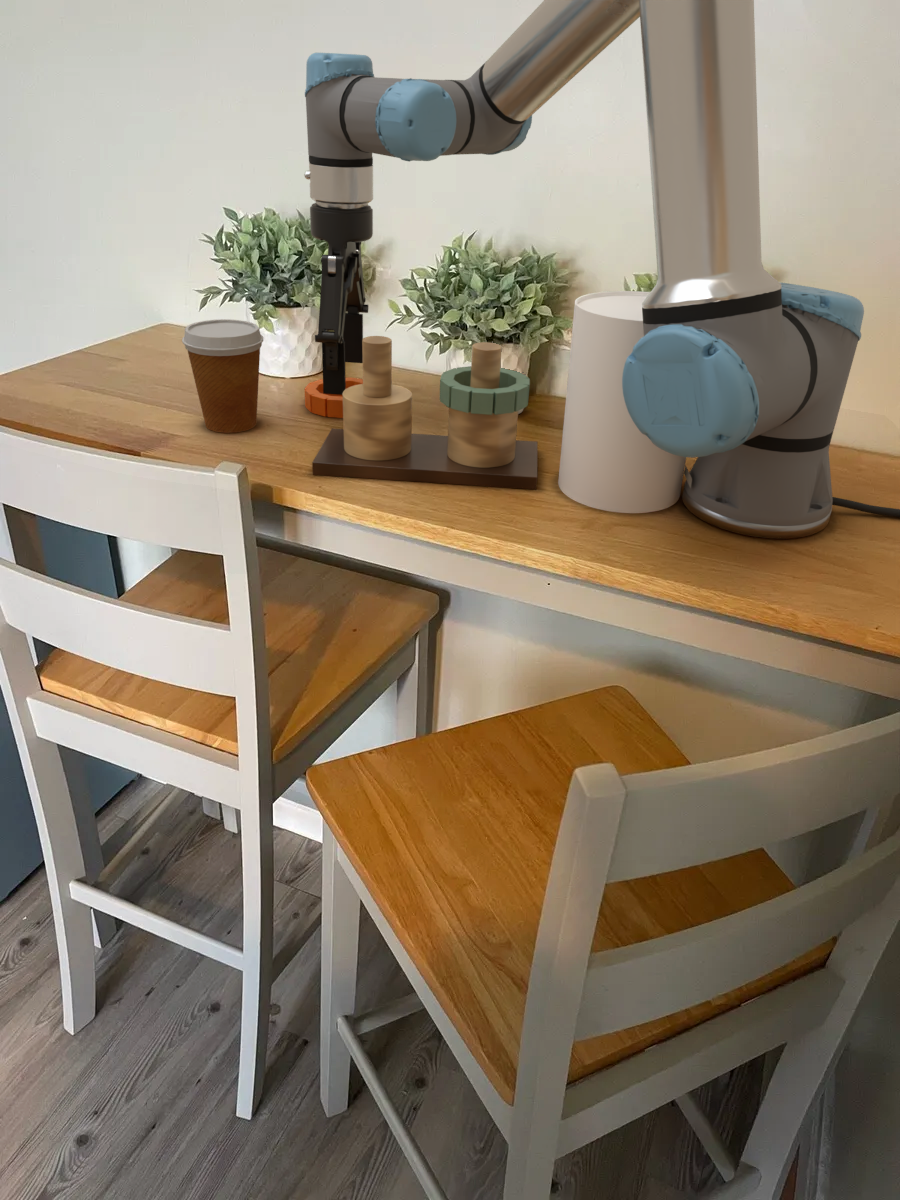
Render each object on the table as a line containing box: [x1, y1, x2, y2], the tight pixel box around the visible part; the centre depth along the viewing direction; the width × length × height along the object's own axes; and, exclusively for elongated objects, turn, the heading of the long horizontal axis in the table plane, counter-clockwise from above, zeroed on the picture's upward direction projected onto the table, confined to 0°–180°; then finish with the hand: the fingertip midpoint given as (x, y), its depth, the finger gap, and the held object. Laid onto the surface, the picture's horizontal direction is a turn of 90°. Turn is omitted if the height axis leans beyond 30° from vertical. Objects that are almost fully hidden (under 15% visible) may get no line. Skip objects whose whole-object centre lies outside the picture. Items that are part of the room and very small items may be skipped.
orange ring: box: [304, 376, 363, 419], centre depth 120 cm, size 10×10×2 cm
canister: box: [557, 290, 687, 514], centre depth 96 cm, size 14×14×20 cm
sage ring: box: [439, 365, 531, 415], centre depth 99 cm, size 10×10×2 cm
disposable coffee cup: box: [181, 318, 264, 434], centre depth 110 cm, size 10×10×12 cm
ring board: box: [311, 335, 538, 491], centre depth 101 cm, size 25×11×14 cm, turn 85°
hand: (344, 377), depth 119 cm, fingers open, 13 cm apart
